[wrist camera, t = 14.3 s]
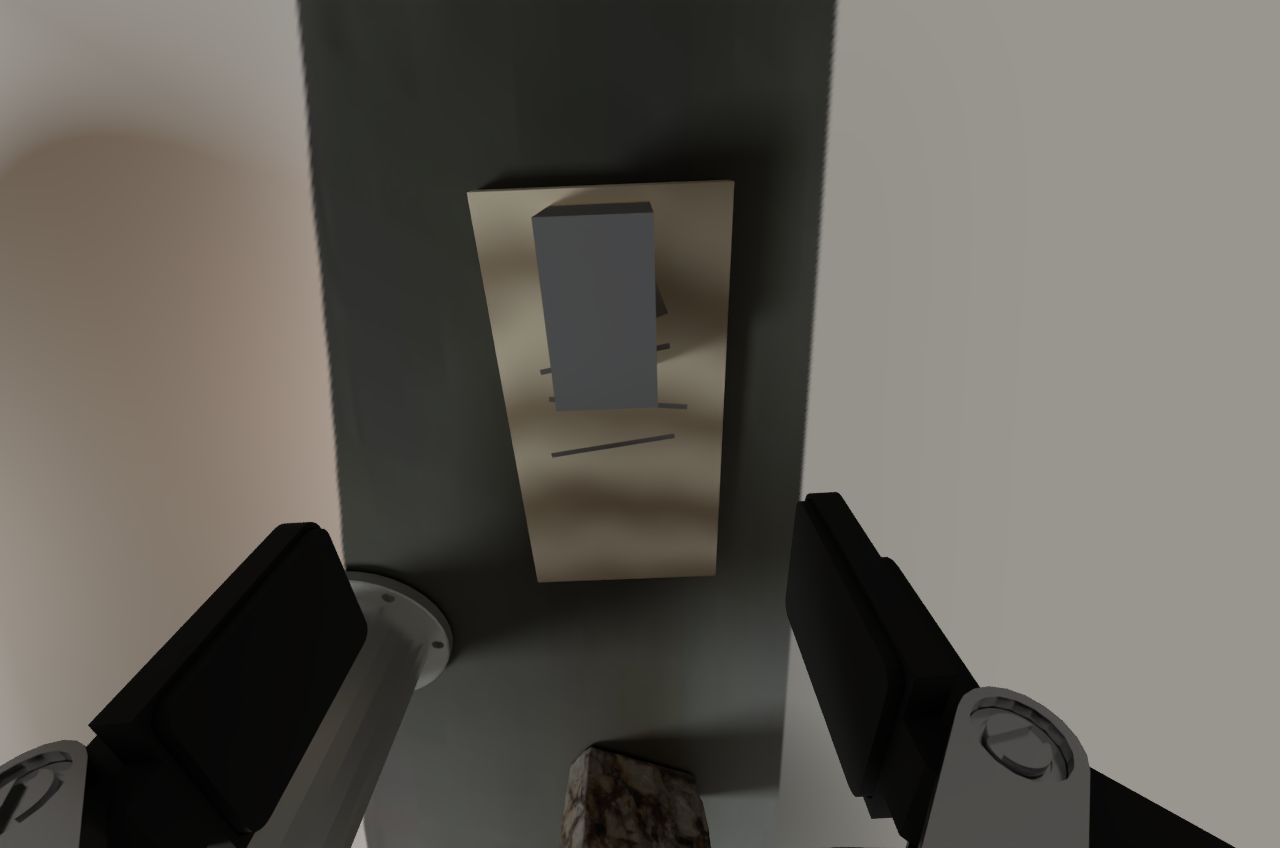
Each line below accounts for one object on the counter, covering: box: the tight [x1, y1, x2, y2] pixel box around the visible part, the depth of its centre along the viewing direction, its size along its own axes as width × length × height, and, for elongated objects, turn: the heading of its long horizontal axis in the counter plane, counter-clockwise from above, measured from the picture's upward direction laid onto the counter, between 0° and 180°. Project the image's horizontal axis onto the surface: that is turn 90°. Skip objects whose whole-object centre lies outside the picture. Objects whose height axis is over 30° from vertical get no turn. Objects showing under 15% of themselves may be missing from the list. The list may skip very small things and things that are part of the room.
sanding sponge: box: [531, 201, 658, 411], centre depth 23 cm, size 8×4×5 cm, turn 2°
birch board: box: [467, 180, 734, 582], centre depth 29 cm, size 24×12×2 cm, turn 2°
